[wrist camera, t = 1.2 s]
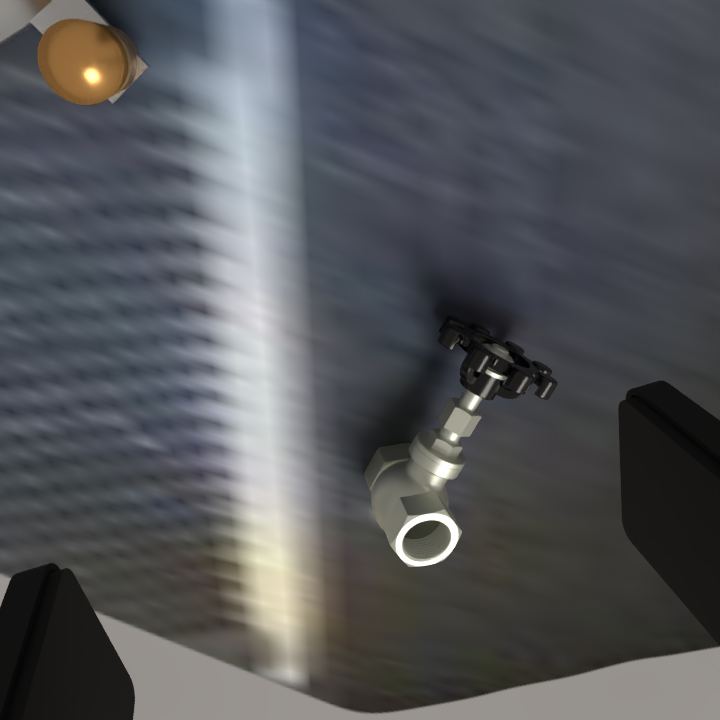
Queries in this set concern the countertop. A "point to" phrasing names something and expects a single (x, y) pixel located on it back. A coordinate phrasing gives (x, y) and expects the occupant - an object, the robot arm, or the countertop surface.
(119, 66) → the turntable
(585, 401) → the countertop surface
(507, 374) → the valve
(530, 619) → the countertop surface
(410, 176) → the countertop surface
